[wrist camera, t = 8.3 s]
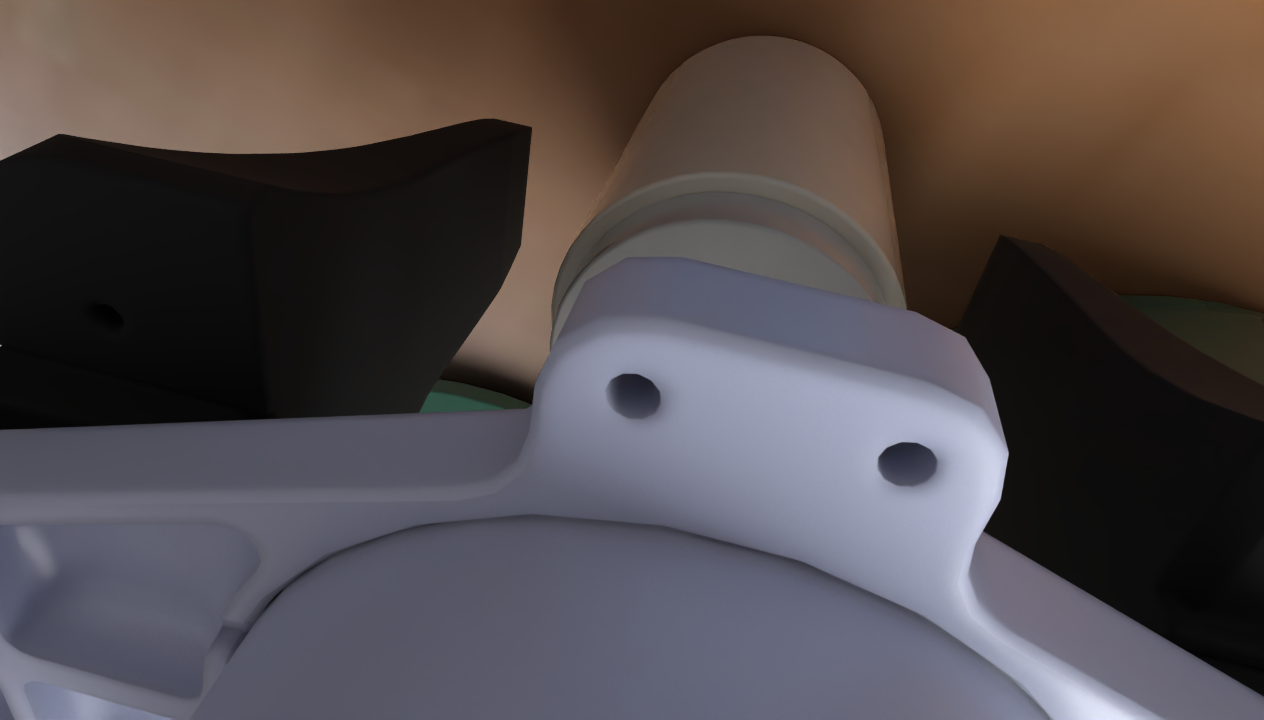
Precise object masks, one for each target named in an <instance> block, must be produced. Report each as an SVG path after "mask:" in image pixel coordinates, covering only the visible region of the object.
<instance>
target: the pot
mask: <svg viewBox="0 0 1264 720" xmlns="http://www.w3.org/2000/svg"><path fill="white" fill-rule="evenodd" d="M1118 296H1120V297H1121V298H1123V299H1124V300H1125V301H1127V302H1128V303H1129V304H1131V305H1132V306H1134V307H1135V308H1136V309H1138V310H1139V311H1141V312H1142V313H1143V314H1145V315H1146V316H1148V317H1149V318H1150V319H1152V320H1153V321H1155V322H1156V323H1158V324H1159V325H1161V326H1162V327H1164V328H1165V329H1167V330H1168V331H1170V332H1171V333H1173V334H1174V335H1176V336H1177V337H1179V338H1180V339H1182V340H1183V341H1185V342H1187V343H1188V344H1190V345H1191V346H1193V347H1195V348H1196V349H1198V350H1200V351H1201V352H1203V353H1205V354H1206V355H1208V356H1210V357H1212V358H1214V359H1215V360H1217V361H1219V362H1221V363H1223V364H1224V365H1226V366H1228V367H1230V368H1232V369H1233V370H1235V371H1237V372H1239V373H1241V374H1242V375H1244V376H1246V377H1248V378H1250V379H1252V380H1254V381H1256V382H1258V383H1260V384H1262V385H1264V314H1263V313H1259V312H1255V311H1251V310H1247V309H1243V308H1239V307H1235V306H1231V305H1227V304H1223V303H1219V302H1211V301H1203V300H1196V299H1188V298H1181V297H1173V296H1145V295H1118ZM957 329H958V327H957V328H955V329H953V330H952V331H954V332H956V331H957Z"/></svg>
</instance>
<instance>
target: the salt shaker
mask: <svg viewBox="0 0 1264 720" xmlns="http://www.w3.org/2000/svg"><path fill="white" fill-rule="evenodd" d="M627 257H685V258H689V259H693V260H698V261H702V262H706V263H710V264H715V265H719V266H723V267H727V268H731V269H736V270H740V271H744V272H748V273H753V274H757V275H761V276H765V277H770V278H774V279H778V280H782V281H786V282H791V283H795V284H799V285H803V286H808V287H812V288H816V289H820V290H824V291H829V292H833V293H837V294H841V295H846V296H850V297H854V298H858V299H863V300H867V301H871V302H875V303H879V304H884V305H888V306H892V307H896V308H901V309H905V310H908V308H907V301H906V294H905V287H904V280H903V273H902V266H901V259H900V252H899V245H898V237H897V230H896V223H895V216H894V209H893V202H892V195H891V188H890V181H889V174H888V167H887V159H886V152H885V145H884V138H883V133H882V128H881V123H880V120H879V117H878V114H877V111H876V109H875V106H874V104H873V102H872V100H871V98H870V97H869V95H868V93H867V91H866V90H865V89H864V87H863V86H862V84H861V83H860V82H859V80H858V79H857V78H856V77H855V76H854V75H853V74H852V73H851V72H850V71H849V70H848V69H847V68H846V67H845V66H844V65H843V64H841V63H840V62H839V61H838V60H836V59H835V58H834V57H832V56H831V55H829V54H827V53H825V52H824V51H822V50H820V49H818V48H816V47H814V46H811V45H809V44H806V43H804V42H801V41H797V40H793V39H789V38H785V37H775V36H748V37H742V38H736V39H731V40H728V41H725V42H721V43H718V44H715V45H713V46H711V47H709V48H707V49H705V50H702V51H700V52H699V53H697V54H696V55H694V56H693V57H691V58H689V59H688V60H686V61H685V62H684V63H683V64H682V65H680V66H679V67H678V68H677V69H676V70H675V71H673V73H672V74H671V75H670V76H669V77H668V78H667V79H666V80H665V81H664V83H663V84H662V85H661V87H660V88H659V90H658V91H657V93H656V94H655V96H654V97H653V99H652V101H651V103H650V104H649V106H648V108H647V110H646V112H645V113H644V115H643V117H642V119H641V121H640V122H639V124H638V126H637V128H636V130H635V131H634V133H633V135H632V137H631V139H630V140H629V142H628V144H627V146H626V148H625V149H624V151H623V153H622V155H621V157H620V158H619V160H618V162H617V164H616V166H615V167H614V169H613V171H612V173H611V175H610V176H609V178H608V180H607V182H606V184H605V185H604V187H603V189H602V191H601V193H600V194H599V196H598V198H597V200H596V202H595V203H594V205H593V207H592V209H591V211H590V212H589V214H588V216H587V218H586V220H585V221H584V223H583V225H582V227H581V229H580V230H579V232H578V234H577V236H576V238H575V239H574V241H573V243H572V245H571V247H570V248H569V250H568V252H567V254H566V256H565V258H564V261H563V263H562V265H561V267H560V270H559V273H558V276H557V279H556V282H555V286H554V292H553V299H552V332H551V338H550V352H551V350H552V348H553V346H554V344H555V341H556V339H557V337H558V335H559V333H560V331H561V329H562V327H563V325H564V323H565V321H566V319H567V317H568V315H569V313H570V311H571V309H572V307H573V305H574V303H575V301H576V299H577V297H578V295H579V293H580V291H581V289H582V287H583V285H584V282H585V281H587V280H588V279H590V278H592V277H594V276H595V275H597V274H599V273H601V272H602V271H604V270H606V269H608V268H609V267H611V266H613V265H615V264H616V263H618V262H620V261H622V260H623V259H625V258H627Z"/></svg>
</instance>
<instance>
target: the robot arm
mask: <svg viewBox="0 0 1264 720" xmlns="http://www.w3.org/2000/svg"><path fill="white" fill-rule="evenodd" d="M531 134H532V127H529V126H524V125H520V124H515V123H511V122H507V121H502V120H498V119H479V120H474V121H469V122H464V123H460V124H456V125H452V126H448V127H444V128H440V129H436V130H432V131H428V132H423V133H419V134H415V135H411V136H407V137H402V138H397V139H392V140H387V141H382V142H378V143H373V144H368V145H363V146H357V147H351V148H343V149H336V150H326V151H316V152H305V153H280V154H221V153H202V152H189V151H177V150H166V149H157V148H148V147H141V146H134V145H127V144H121V143H114V142H108V141H101V140H94V139H88V138H81V137H76V136H71V135H65V134H58V135H55V136H53V137H51V138H49V139H47V140H45V141H42V142H40V143H38V144H36V145H34V146H32V147H29V148H27V149H25V150H23V151H21V152H18V153H16V154H14V155H12V156H10V157H8V158H5V159H3V160H1V161H0V345H2V346H0V720H1264V385H1262V384H1260V383H1258V382H1256V381H1254V380H1252V379H1250V378H1248V377H1246V376H1244V375H1242V374H1241V373H1239V372H1237V371H1235V370H1233V369H1232V368H1230V367H1228V366H1226V365H1224V364H1223V363H1221V362H1219V361H1217V360H1215V359H1214V358H1212V357H1210V356H1208V355H1206V354H1205V353H1203V352H1201V351H1200V350H1198V349H1196V348H1195V347H1193V346H1191V345H1190V344H1188V343H1187V342H1185V341H1183V340H1182V339H1180V338H1179V337H1177V336H1176V335H1174V334H1173V333H1171V332H1170V331H1168V330H1167V329H1165V328H1164V327H1162V326H1161V325H1159V324H1158V323H1156V322H1155V321H1153V320H1152V319H1150V318H1149V317H1148V316H1146V315H1145V314H1143V313H1142V312H1141V311H1139V310H1138V309H1136V308H1135V307H1134V306H1132V305H1131V304H1129V303H1128V302H1127V301H1125V300H1124V299H1123V298H1121V297H1120V296H1118V295H1117V294H1116V293H1114V292H1113V291H1112V290H1110V289H1109V288H1108V287H1106V286H1105V285H1104V284H1102V283H1101V282H1100V281H1098V280H1097V279H1096V278H1094V277H1093V276H1092V275H1090V274H1089V273H1088V272H1086V271H1085V270H1083V269H1082V268H1081V267H1079V266H1078V265H1077V264H1075V263H1074V262H1072V261H1071V260H1069V259H1068V258H1066V257H1065V256H1063V255H1062V254H1060V253H1059V252H1057V251H1055V250H1053V249H1052V248H1050V247H1047V246H1045V245H1043V244H1039V243H1035V242H1030V241H1026V240H1022V239H1017V238H1013V237H1008V236H1004V235H1000V236H999V238H998V241H997V243H996V245H995V247H994V249H993V252H992V254H991V256H990V258H989V260H988V263H987V265H986V267H985V269H984V271H983V274H982V276H981V278H980V280H979V282H978V285H977V287H976V289H975V291H974V293H973V296H972V298H971V300H970V302H969V304H968V307H967V309H966V311H965V313H964V315H963V318H962V320H961V322H960V324H959V326H958V329H957V331H956V332H954V331H952V330H950V329H948V328H946V327H944V326H942V325H940V324H938V323H936V322H934V321H932V320H931V319H929V318H927V317H925V316H923V315H921V314H919V313H917V312H913V311H909V310H905V309H901V308H896V307H892V306H888V305H884V304H879V303H875V302H871V301H867V300H863V299H858V298H854V297H850V296H846V295H841V294H837V293H833V292H829V291H824V290H820V289H816V288H812V287H808V286H803V285H799V284H795V283H791V282H786V281H782V280H778V279H774V278H770V277H765V276H761V275H757V274H753V273H748V272H744V271H740V270H736V269H731V268H727V267H723V266H719V265H715V264H710V263H706V262H702V261H698V260H693V259H689V258H685V257H627V258H625V259H623V260H622V261H620V262H618V263H616V264H615V265H613V266H611V267H609V268H608V269H606V270H604V271H602V272H601V273H599V274H597V275H595V276H594V277H592V278H590V279H588V280H587V281H585V282H584V285H583V287H582V289H581V291H580V293H579V295H578V297H577V299H576V301H575V303H574V305H573V307H572V309H571V311H570V313H569V315H568V317H567V319H566V321H565V323H564V325H563V327H562V329H561V331H560V333H559V335H558V337H557V339H556V341H555V344H554V346H553V348H552V350H551V352H550V354H549V356H548V358H547V360H546V362H545V364H544V366H543V368H542V370H541V372H540V374H539V376H538V378H537V380H536V383H535V388H534V396H533V404H532V406H530V407H528V408H526V409H505V410H480V411H456V412H431V413H419V412H420V410H421V408H422V406H423V404H424V402H425V400H426V398H427V397H428V395H429V393H430V392H431V390H432V388H433V387H434V385H435V384H436V382H437V380H438V379H439V377H440V376H441V374H442V373H443V371H444V370H445V368H446V367H447V366H448V364H449V363H450V361H451V360H452V358H453V357H454V356H455V354H456V353H457V351H458V350H459V348H460V347H461V346H462V344H463V343H464V341H465V340H466V338H467V337H468V336H469V334H470V333H471V331H472V330H473V328H474V327H475V326H476V324H477V323H478V321H479V320H480V318H481V317H482V315H483V314H484V313H485V311H486V310H487V308H488V307H489V305H490V304H491V302H492V301H493V299H494V298H495V296H496V295H497V293H498V292H499V290H500V289H501V287H502V285H503V283H504V280H505V278H506V276H507V274H508V272H509V270H510V268H511V266H512V264H513V261H514V259H515V257H516V255H517V252H518V250H519V248H520V246H521V238H522V227H523V217H524V207H525V196H526V186H527V175H528V165H529V155H530V144H531Z"/></svg>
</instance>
